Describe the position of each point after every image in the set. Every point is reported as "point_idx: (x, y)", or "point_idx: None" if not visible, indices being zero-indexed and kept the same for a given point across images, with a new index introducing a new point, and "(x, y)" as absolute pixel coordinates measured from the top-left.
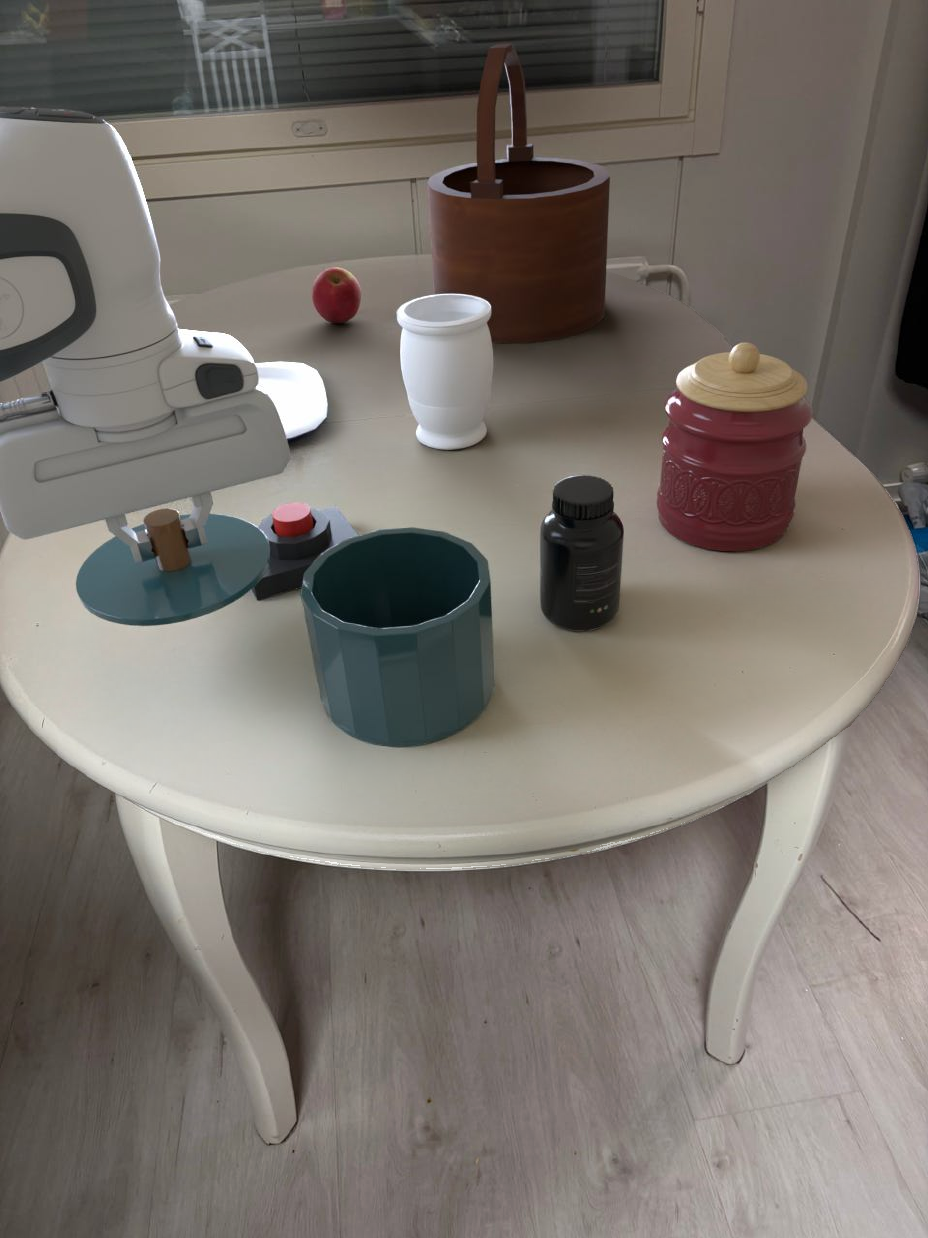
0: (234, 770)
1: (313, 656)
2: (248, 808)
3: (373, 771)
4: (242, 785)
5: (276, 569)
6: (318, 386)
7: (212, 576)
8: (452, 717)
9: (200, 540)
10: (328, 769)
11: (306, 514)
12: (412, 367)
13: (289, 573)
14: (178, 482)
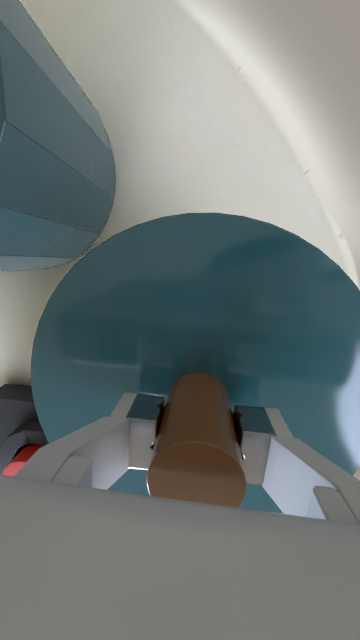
0: (228, 146)
1: (83, 168)
2: (236, 74)
3: (101, 57)
4: (229, 116)
5: None
6: None
7: (150, 314)
8: None
9: (135, 398)
10: (142, 89)
11: (9, 466)
12: None
13: None
14: (55, 583)
